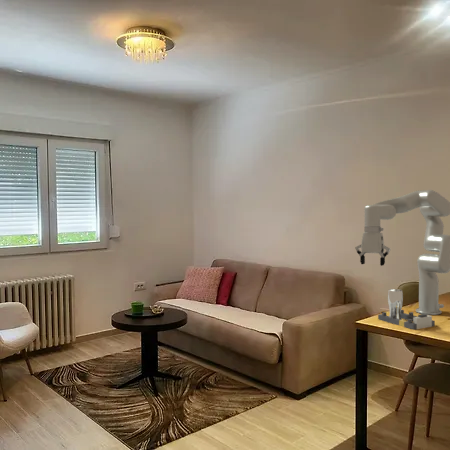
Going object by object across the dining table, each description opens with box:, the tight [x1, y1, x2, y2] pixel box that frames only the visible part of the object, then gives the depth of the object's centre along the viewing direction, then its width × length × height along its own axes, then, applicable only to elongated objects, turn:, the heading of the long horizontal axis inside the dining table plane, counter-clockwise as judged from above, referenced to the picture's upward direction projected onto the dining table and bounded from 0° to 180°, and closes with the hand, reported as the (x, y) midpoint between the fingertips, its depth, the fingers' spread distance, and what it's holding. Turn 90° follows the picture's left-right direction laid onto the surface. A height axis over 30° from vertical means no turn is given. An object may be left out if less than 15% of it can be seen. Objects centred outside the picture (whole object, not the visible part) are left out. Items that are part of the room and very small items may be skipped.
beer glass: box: [387, 288, 404, 320], centre depth 226 cm, size 7×7×15 cm
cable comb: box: [377, 309, 436, 331], centre depth 220 cm, size 14×22×6 cm, turn 26°
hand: (372, 264), depth 222 cm, fingers open, 9 cm apart
